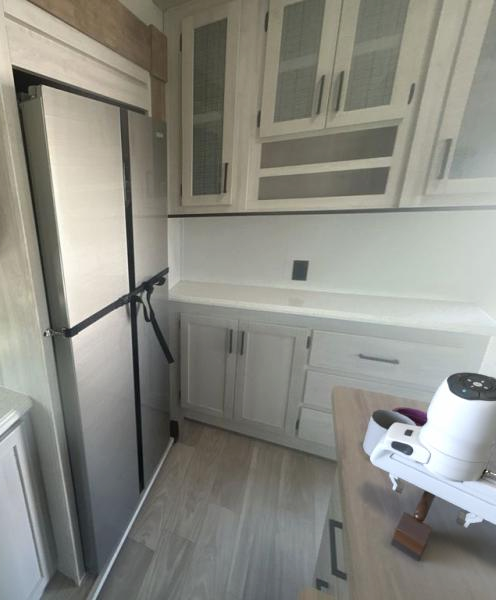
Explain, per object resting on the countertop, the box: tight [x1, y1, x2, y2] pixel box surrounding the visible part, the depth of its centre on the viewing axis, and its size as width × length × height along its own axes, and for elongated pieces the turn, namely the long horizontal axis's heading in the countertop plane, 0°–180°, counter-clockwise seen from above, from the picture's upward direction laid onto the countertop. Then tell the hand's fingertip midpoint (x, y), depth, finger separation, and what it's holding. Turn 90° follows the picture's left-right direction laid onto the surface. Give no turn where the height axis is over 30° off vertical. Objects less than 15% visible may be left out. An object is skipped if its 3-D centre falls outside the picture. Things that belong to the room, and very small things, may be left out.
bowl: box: [391, 406, 427, 427], centre depth 86 cm, size 10×10×4 cm
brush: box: [390, 490, 436, 561], centre depth 65 cm, size 14×4×6 cm, turn 127°
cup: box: [362, 409, 416, 458], centre depth 80 cm, size 8×8×10 cm
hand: (428, 505), depth 66 cm, fingers open, 8 cm apart
